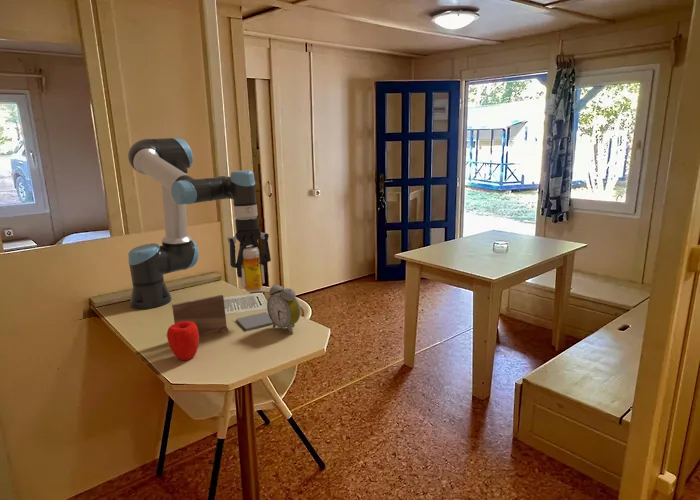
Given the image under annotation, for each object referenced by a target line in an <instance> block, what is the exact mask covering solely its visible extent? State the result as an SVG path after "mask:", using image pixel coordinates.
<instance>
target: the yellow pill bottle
mask: <svg viewBox="0 0 700 500" xmlns="http://www.w3.org/2000/svg"><path fill="white" fill-rule="evenodd" d="M260 263H261V262H260V255H259V249H258V247H254V246H253V245H249V246H246V249H244V250H243V262H242V267H243V268H244V274H245V284H246V287H243V288H244V290H245V291H246V292H249V293H253V292H259V291H261V290H262V288H263V283H262V277H261V266H260Z"/></svg>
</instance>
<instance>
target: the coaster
mask: <svg viewBox="0 0 700 500" xmlns="http://www.w3.org/2000/svg"><path fill="white" fill-rule="evenodd" d="M236 322H237V323H238V325H240V326H241V327H242V328H243V329H244V331H245V332H247V331H251V330H256V329H261V328H264V327H268V326H273V322H272V320H271V319H270V317H269V314H268V312H266V311H265V312H260V313H255V314H250V315H247V316H242V317H238V318H236Z"/></svg>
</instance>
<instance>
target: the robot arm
mask: <svg viewBox="0 0 700 500" xmlns="http://www.w3.org/2000/svg"><path fill="white" fill-rule="evenodd" d="M127 157H128V158H127V159H128V163H129V164H130V166H131V167H132V168H133V169H134V171H136V172H137V173H139V174H140V175H141V174H142V175H147V176H149V177H150V178H151V179H153V180H155V181H157V183H159V184H160V185H161V193H162V194H161V195H162V209H163V220H164V221H163V222H164V232H165V236H164V237H162V239H161V244H162V245H159V244H158V243H157V242H156V243H154V242H153V243H147V244H143V245H142V244H141V245H138V246H136V247H133V248H132V249H130V251H129V252H128V257H127V258H128V265H129V271H130V276H131V283H132V290H131V295H130V296H131V297H130V307H131V309H135V310H145V309H147V310H148V309H153V308H154V309H155V308H159V307H162V306H164V305H167V304H168V303H171V302H172V295H171V293H170V290H169V289H168V286H167V285H166V283H165V279H164V278H165V277H164V275H167V274H171V273H175V272H178V271H185V270H187V269H191V268H193V267H195V265H196V264H197V263H198V260H199V255H200V254H199V248H198V245H197V243H196V242H195V241H194V240H193V239H192V237H191V236H190V235H189V234H188V233H189V231H188V219H187V205H192V204H197V203H205V202H211V201H212V202H213V201H219V200H220V201H221V200H228V199H229V200H232V202H233V210H234V218H236V219H235V221H234V223H235V230H236V231H235V235H234V236H231V237H228V238H227V241H228V242H227V243H228V244H229V262H230V267H232V268H235V269H236V275H237V277H238V278H240V286H241V287H242V288H244V287H246V284H245V274H244V268H243V267H242V262H243V250H244V249H246V246H250V245H253V246H254V247H258V249H259V255H260V266H261V277H262V284H265V283H266V281H265V274H266V273H267V264H268V263H269V262H270V263H271V261H272V258H271V252H270V246H269V233H267V232H261V230H260V224H259V223H260V222H259V218H258V216H259V213H258V205H257V203H258V201H257V191H256V189H257V187H256V180H255V174H254V172H253V171H252V170H248V169H247V170H246V169H245V170H243V169H242V170H233V171H231V172H230V176H226V175H220V176H215V177H207V178H206V177H205V178H194V177H192V176H190V175H189V172H188V170H189V169H190V168H191V167H192V166H193V163H194V155H193V151H192V149H191V147H190V145H189V144H188V142H187V141H186V140H184V139H183V138H174V137H165V138H163V137H161V138H144V139H140V140H138V141H136V142H135V143H134V144H132V146H131V147H130V148H129V151H128V154H127ZM259 238H261V239H262V240H261V242H262V248H263V249H262V250H263V252H262V250H261V247H260V244H259V242H258V241H259ZM237 241H238V242H239V248H238V254H236V253H237V251H236V243H237ZM236 255H237V256H236Z"/></svg>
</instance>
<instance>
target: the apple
mask: <svg viewBox="0 0 700 500" xmlns="http://www.w3.org/2000/svg"><path fill="white" fill-rule="evenodd" d="M166 335H167V336H166V338H167V343H168V345H169V348H170V350H171V352H172V354H173V355H174V357H175V358H177V359H179V360H181V361H189V360H191V359H192V358H194V357H195V356H196V354H197V352H198V349H199V342H200V336H199V332H198V328H197V326H196V324H195V323H194V322H191V321H182V322H179V323H176V324H175V323H173V324H171V325H170V326H169V327H168V329H167V333H166Z"/></svg>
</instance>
